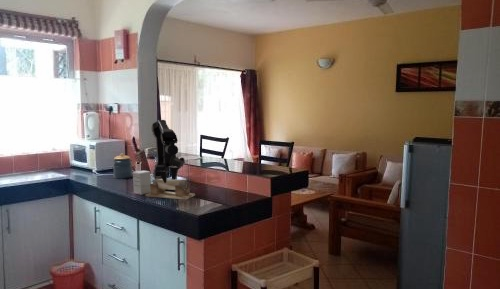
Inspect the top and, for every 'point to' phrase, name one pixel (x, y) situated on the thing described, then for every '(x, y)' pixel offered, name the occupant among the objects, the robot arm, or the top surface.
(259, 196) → the top surface
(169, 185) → the rail
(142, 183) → the supplement box
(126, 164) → the canister
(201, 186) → the top surface
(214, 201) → the top surface
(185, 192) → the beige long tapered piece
